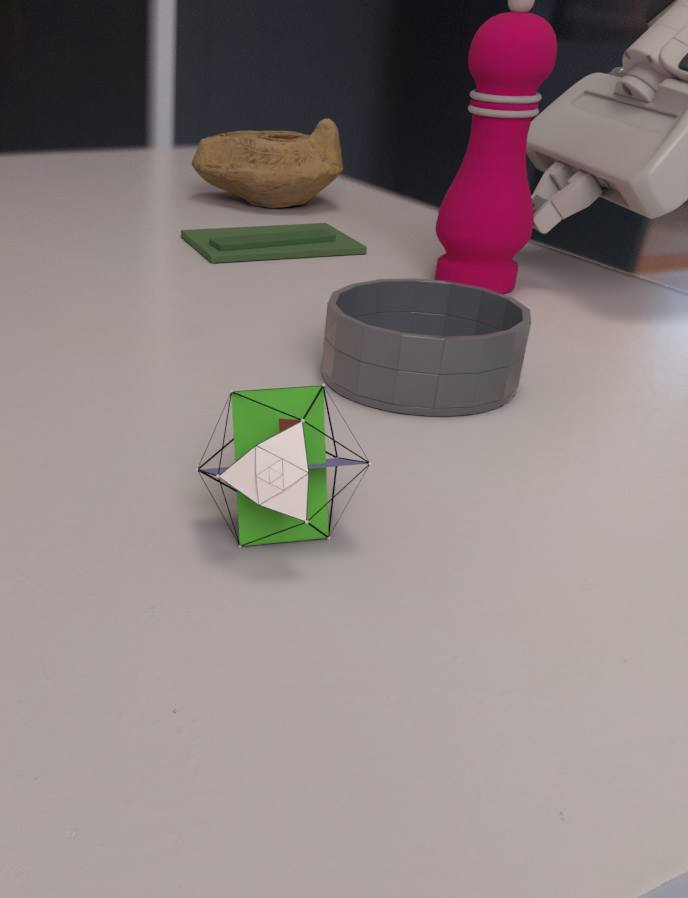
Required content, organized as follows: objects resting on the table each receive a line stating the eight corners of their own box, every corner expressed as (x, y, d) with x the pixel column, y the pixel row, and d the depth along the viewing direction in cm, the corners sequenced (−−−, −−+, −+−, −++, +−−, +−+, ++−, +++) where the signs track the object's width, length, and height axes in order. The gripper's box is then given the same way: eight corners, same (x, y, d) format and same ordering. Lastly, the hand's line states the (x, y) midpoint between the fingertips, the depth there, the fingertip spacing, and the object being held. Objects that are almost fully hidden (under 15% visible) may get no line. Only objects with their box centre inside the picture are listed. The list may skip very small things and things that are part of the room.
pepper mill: (475, 303, 77) (528, -13, 66) (408, 279, 82) (447, -18, 71) (540, 289, 80) (601, -13, 69) (472, 267, 85) (519, -18, 74)
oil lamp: (193, 189, 109) (194, 104, 104) (334, 193, 109) (342, 109, 104) (188, 212, 100) (189, 121, 95) (342, 217, 100) (351, 125, 95)
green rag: (325, 229, 95) (326, 216, 95) (366, 253, 88) (367, 240, 88) (180, 237, 92) (180, 224, 91) (211, 263, 85) (211, 249, 84)
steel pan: (472, 344, 69) (484, 276, 67) (548, 412, 60) (565, 335, 57) (302, 350, 67) (307, 280, 65) (352, 420, 58) (361, 341, 55)
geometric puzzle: (180, 445, 49) (205, 347, 42) (316, 434, 51) (364, 338, 43) (205, 583, 47) (236, 507, 40) (346, 568, 49) (402, 492, 41)
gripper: (593, 34, 82) (457, 167, 86) (744, 60, 66) (567, 223, 70) (630, 97, 85) (497, 222, 89) (783, 137, 69) (612, 289, 73)
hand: (529, 223), depth 79 cm, fingers closed
